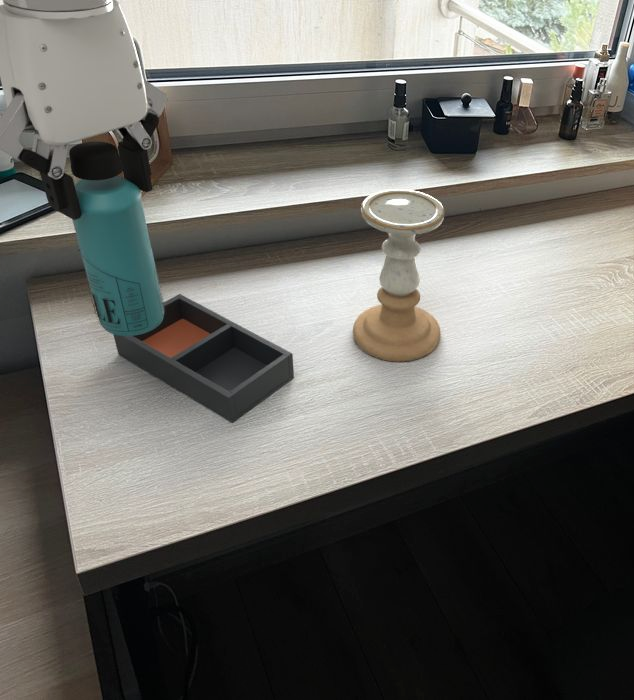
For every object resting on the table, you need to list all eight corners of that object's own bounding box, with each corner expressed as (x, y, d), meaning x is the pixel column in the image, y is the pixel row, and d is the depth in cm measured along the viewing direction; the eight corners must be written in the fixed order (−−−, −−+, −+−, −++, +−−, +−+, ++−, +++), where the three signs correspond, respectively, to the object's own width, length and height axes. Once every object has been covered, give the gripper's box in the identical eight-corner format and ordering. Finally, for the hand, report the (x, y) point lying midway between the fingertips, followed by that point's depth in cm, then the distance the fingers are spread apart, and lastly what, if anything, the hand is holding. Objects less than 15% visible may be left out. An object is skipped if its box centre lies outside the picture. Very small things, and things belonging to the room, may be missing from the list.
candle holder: (445, 362, 99) (458, 232, 86) (354, 363, 97) (354, 231, 84) (434, 309, 108) (445, 186, 96) (351, 310, 106) (351, 183, 94)
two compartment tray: (232, 423, 86) (228, 398, 83) (118, 355, 93) (111, 329, 91) (294, 377, 93) (292, 353, 91) (184, 317, 101) (179, 293, 98)
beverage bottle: (179, 317, 78) (147, 138, 65) (150, 354, 72) (110, 168, 60) (120, 307, 78) (77, 127, 65) (87, 345, 72) (34, 156, 60)
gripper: (122, -37, 62) (156, 159, 73) (-95, -10, 50) (-15, 219, 61) (182, -18, 59) (208, 183, 70) (-33, 15, 47) (39, 251, 58)
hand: (104, 198), depth 66 cm, fingers closed on beverage bottle, 6 cm apart
